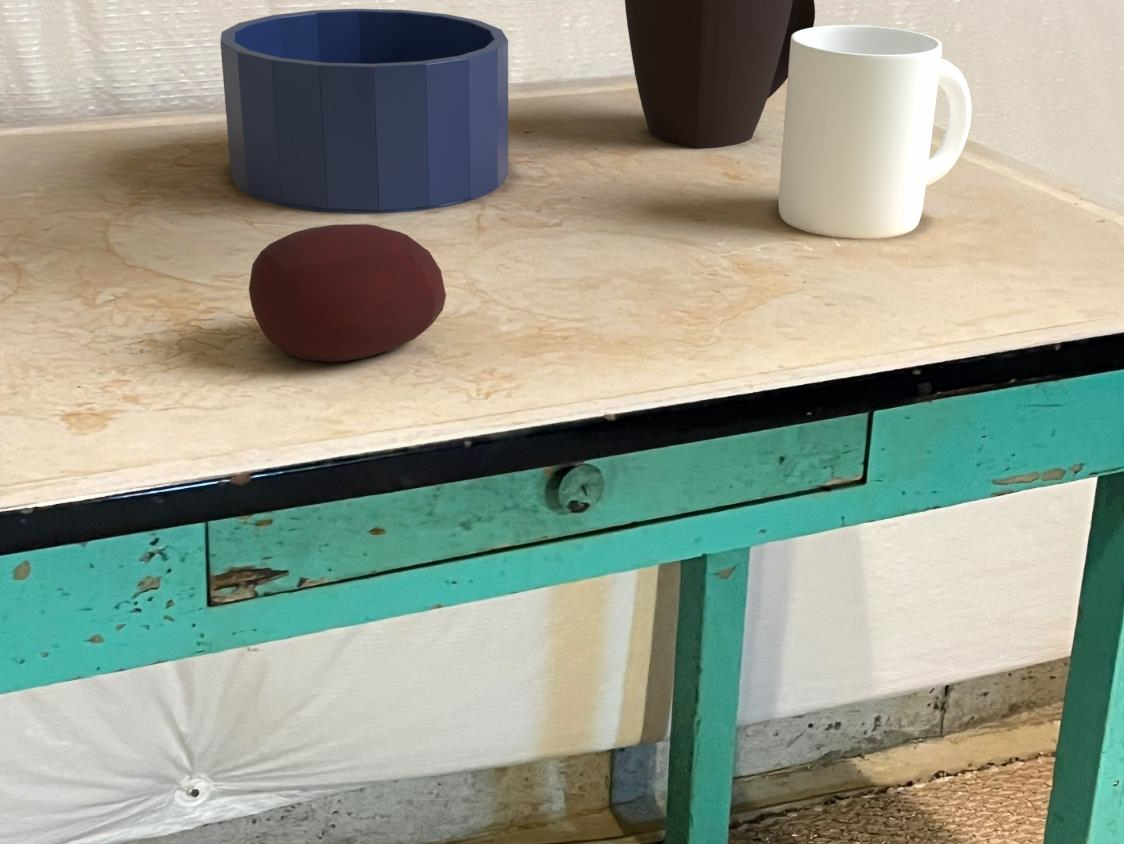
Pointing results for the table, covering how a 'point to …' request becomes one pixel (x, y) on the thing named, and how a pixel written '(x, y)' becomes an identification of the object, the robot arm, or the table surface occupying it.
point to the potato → (345, 291)
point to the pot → (366, 109)
